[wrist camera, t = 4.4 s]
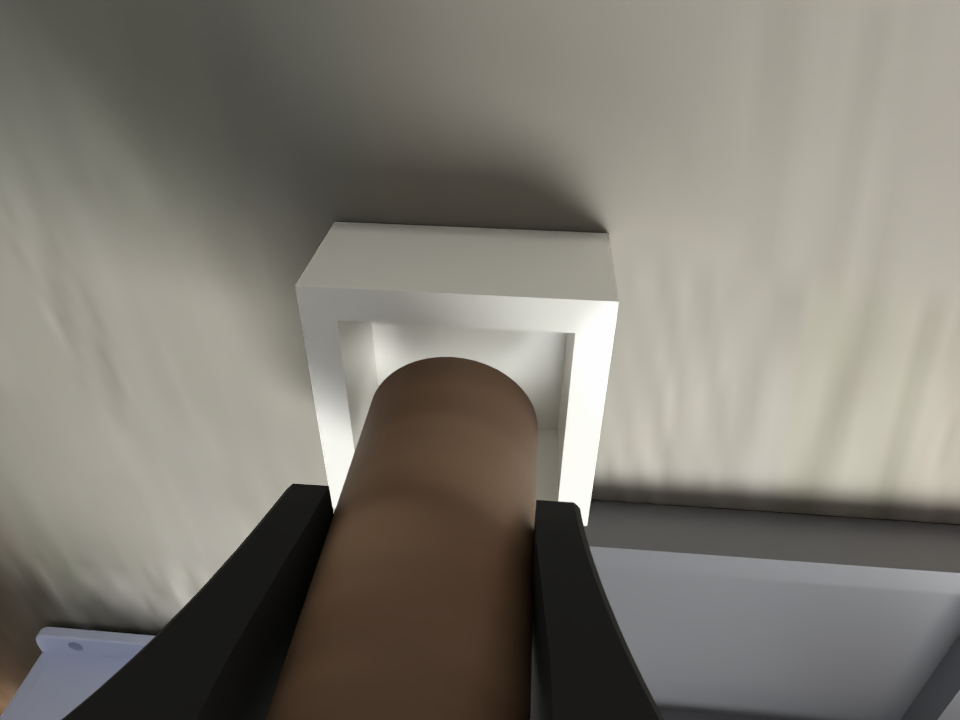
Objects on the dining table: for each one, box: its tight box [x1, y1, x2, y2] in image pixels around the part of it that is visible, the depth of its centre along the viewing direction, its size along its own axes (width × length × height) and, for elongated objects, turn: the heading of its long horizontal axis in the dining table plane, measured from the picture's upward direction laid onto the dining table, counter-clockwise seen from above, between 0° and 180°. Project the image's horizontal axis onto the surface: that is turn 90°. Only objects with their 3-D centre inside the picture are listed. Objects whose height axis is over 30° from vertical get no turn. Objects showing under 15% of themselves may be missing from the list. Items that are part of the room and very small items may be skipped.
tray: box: [530, 500, 960, 720], centre depth 21 cm, size 14×10×2 cm
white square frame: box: [295, 222, 619, 526], centre depth 15 cm, size 6×6×3 cm
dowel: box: [265, 357, 538, 720], centre depth 11 cm, size 3×3×8 cm
